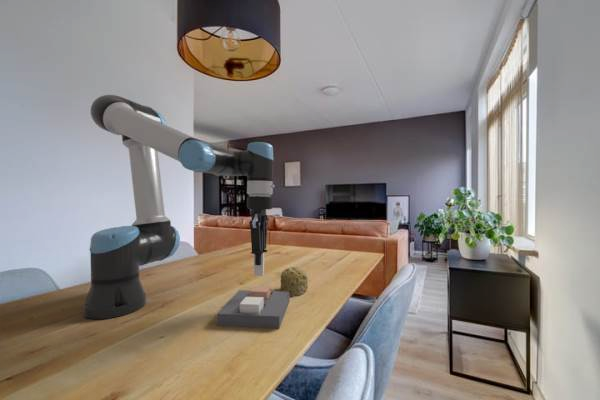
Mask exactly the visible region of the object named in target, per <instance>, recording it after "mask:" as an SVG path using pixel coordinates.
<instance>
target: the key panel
mask: <svg viewBox="0 0 600 400" xmlns="http://www.w3.org/2000/svg"><path fill="white" fill-rule="evenodd" d="M250 291H251V290H243V289H238V291H237V292H235V294H234V295H233V296H232V297H231V298H230V299H229V300H228V301H227V302H226V303H225V305H223V307H221V309H220V310H219V311H218V312H216V326H219V327H240V328H241V327H243V328H259V329H260V328H262V329H263V328H264V329H280V328H281V325H282V322H283V320H284V317H285V314H286V312H287V309H288V307H289V306H288V305H289V303H290V296H289V292H281V290H280V291H278V290H277V291H276V290H275V291H274V290H271V296H270V298H269V300H264V308H263V310H262V312H261V314H254V313H240V303H241V302H242V301H243V299H244V298H245V297H250Z"/></svg>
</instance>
